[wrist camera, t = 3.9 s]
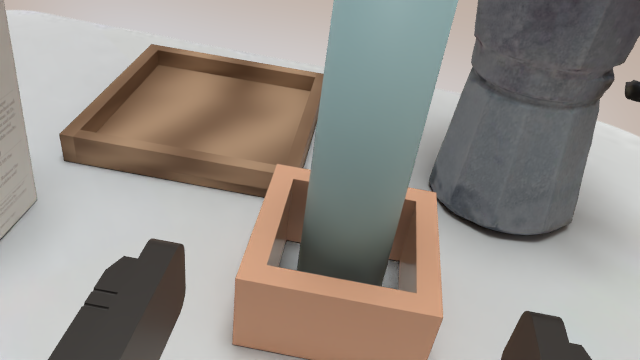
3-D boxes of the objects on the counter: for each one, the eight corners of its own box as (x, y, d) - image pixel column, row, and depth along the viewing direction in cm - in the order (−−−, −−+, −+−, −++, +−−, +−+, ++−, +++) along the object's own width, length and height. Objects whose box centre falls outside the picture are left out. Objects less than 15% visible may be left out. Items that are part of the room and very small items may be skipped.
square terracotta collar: (232, 344, 24) (235, 278, 21) (271, 224, 30) (277, 163, 28) (419, 380, 23) (443, 317, 21) (417, 251, 30) (436, 192, 27)
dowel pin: (287, 316, 25) (331, -19, 16) (301, 256, 28) (344, -51, 20) (374, 333, 25) (466, 4, 16) (379, 271, 28) (457, -33, 19)
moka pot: (432, 121, 42) (521, -199, 30) (647, 218, 35) (871, -147, 23) (361, 172, 35) (440, -213, 23) (608, 303, 28) (893, -146, 17)
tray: (64, 160, 32) (59, 134, 31) (152, 66, 43) (151, 44, 42) (293, 202, 32) (296, 177, 31) (324, 95, 43) (327, 74, 42)
